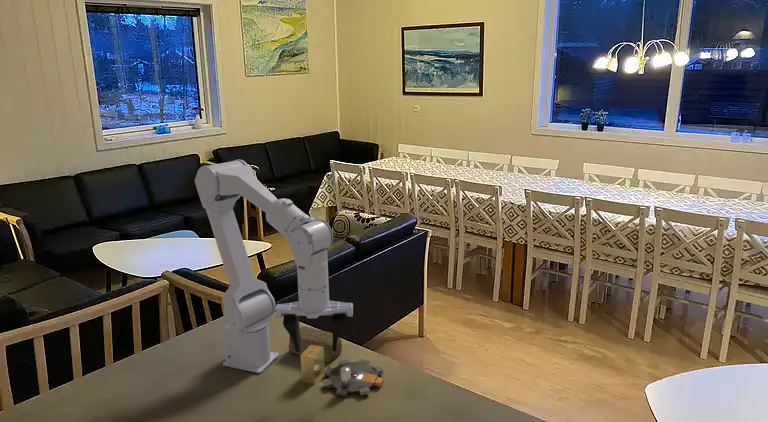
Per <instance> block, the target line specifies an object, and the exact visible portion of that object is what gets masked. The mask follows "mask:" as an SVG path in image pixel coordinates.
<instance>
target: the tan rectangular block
mask: <svg viewBox="0 0 768 422" xmlns="http://www.w3.org/2000/svg"><path fill="white" fill-rule="evenodd" d="M325 367H326V366H325V362H324V347H321V346H317V345H310V346H309V347H308V348H307V349H306V350H305V351H304V352H303V353H302V354H301V355H300V370H301V382H306V383H309V384H313V385H316V383H317V382H318V381H319V380H320V379H321V378H322V377H323V375H324V372H325V371H326V369H325Z"/></svg>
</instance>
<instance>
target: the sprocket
mask: <svg viewBox="0 0 768 422" xmlns="http://www.w3.org/2000/svg"><path fill="white" fill-rule="evenodd" d="M383 374H384V370H383V369H382V367H381V366H380V365H376V366H373V365H370V360H368V359H359V361H351V362H350V361H349V360H348V359H344V360H340V361H338V365H337V366H335V367H327V368H326V369H325V372H324V374H323V375H324V376H325V377H328V378H326V379H323V381H322V383H323V385H324V387H325V388H326V390H327V389H331V388H333V389H335V390H336V392H335V393H336V395H337V396H340V397H347V395H348V394H357V393H358V395H359V396H360V397H362V396H365V395H369V394H371V389H372V388H373V387H378V388H380V387H381V386H382V385H383V384H384V381H385V378H384V377H379V376H380V375H383Z"/></svg>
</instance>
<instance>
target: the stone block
mask: <svg viewBox="0 0 768 422" xmlns="http://www.w3.org/2000/svg"><path fill="white" fill-rule="evenodd" d="M299 332H300V339H301V348H300V351H299V352H296V350H295V346H294V343H293V341H292V338H291V336H290V335H289V340H288V351H289V352H290V353H292V354H294V355H298V356H300V355H301V354H302V353H303V352H304V351H305V350H306V349H307V348H308V347H309V346H310V345H317V346H321V347H324V363H330V362H332V361H333V360H335V359H336V358H338V357H339V355H341V353H342V351H343V346H342V345H343V344H342V339H341V337H340V336H339V338H338V341H337V350H336V351H333V349H332V345H333V333H332V332H329V331H326V330H323V329H317V328H313V327H309V326H299Z"/></svg>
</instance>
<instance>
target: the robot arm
mask: <svg viewBox="0 0 768 422" xmlns="http://www.w3.org/2000/svg"><path fill="white" fill-rule="evenodd" d="M194 183H195V187H196V190H197V193H198V196H199V200H200V202H201V206H202V208H203V209H205V212H206V214H207V218H208V220H209V224H210V226H211V227H210V228H211V230H212V233H213V237H214V240H215V243H216V245H217V249H218V253H219V255H220V258H221V262H222V265H223V267H224V270H225V274H226V277H227V281H228V284H229V286H228V289H227V290H226V291H225V293H224V294H223V296H222V297H221V302H222V305H223V318H224V320H225V321H224V322H225V323H226V326H225V328H224V329H223V334H222V341H223V351H224V352H223V353H224V359H225V360H224V362H223V363H222V366H223V367H228V368H233V369H238V370H243V371H247V372H252V373H257V374H261V373H262V372H264V370H266V368H267V367H268V366H269V365H270V364H272V363H273V362H274V361H276V359H277V358H278V357H279V356H280V354H279V352H274V351H271V341H270V327H269V323H270V322H271V321H272V315H274V314H275V318H277V319H278V318H280V319H281V318H282V317H283V321H282V327H283V328H284V329H285V330H286V331H287V333H288V334H289V337H290V336H291V338H292V341H293V343H294V346H295V350H296V352H299V351H300V348H301V339H300V332H299V328H300V317H302V316H305V317H306V319H317V318H318V317H321V316H332V318H331V330H332V332H331V333H333V345H332V349H333V351H336V350H337V341H338V338H339V337H340V334H341V331H342V329H343V327H344V325H345V323H346V318H347V317H353V314H354V304H353V302H343V301H335V300H330V289H329V288H330V286H329V285H330V283H329V265H328V263H329V261H328V249H329V247H331V246H332V244H333V241H334V233H333V230H332V228H331V225H330V224H328V223H327V222H326V220H325V219H324V218H314V217H313V216H311V217H310V216H309V215H308V214H306V213H305V212H304V211H302V210H301V209H300V208H298V207H297V206H296V205H295V204H294V202H293V200H291V199H289V198H285V197H284V198H283V197H282V198H279V199H278V198H277V197H276V196H275V195H274V194H273V193H272V192H271V191H270V190H269V189H268V188H266V186H265V185H264V184H263V183H261V182H260V181H259V179H258V178H256V177H255V175H254V170H253V167H252V166H250V165H249V164H248V163H247V162H246V161H245V160H243V159H235V160H232V161H226V162H222V163H216V164H211V165H202V166H200V167H199V168H198V170H197V172H196V175H195V179H194ZM241 197H243V198H244V199H246V200H247V201H248V202H250V203H251V204H253V205H254V206H255V207H257V208H258V209H260V210H261V211H262V212H263V213H265V220H266V222H267V223H268V224H269V225H270V226H272V228H274V229H275V230H277V232H278V233H280V235H282V236H283V237H284V238H285V239H287V242H288V243H287V244H288V247H289V249H290V251H291V252H292V255H293V262H294V264H295V265H296V271H297V291H298V301H294V302H289V303H288V302H287V303H277V304H276V301H275V298H274V297H273V295H272V293H271V291H270V290H269V288H268V285H267V282H266V281H265V282H264V281H262V280H260V279H259V278H256V277H255V275H254V271H253V269H252V265H251V262H250V259H249V256H248V253H247V250H246V246H245V242H244V240H243V237H242V233H241V231H240V227H239V224H238V221H237V218H236V215H235V211H234V207H235V204H236V202H237V200H239V199H240V198H241Z"/></svg>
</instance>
